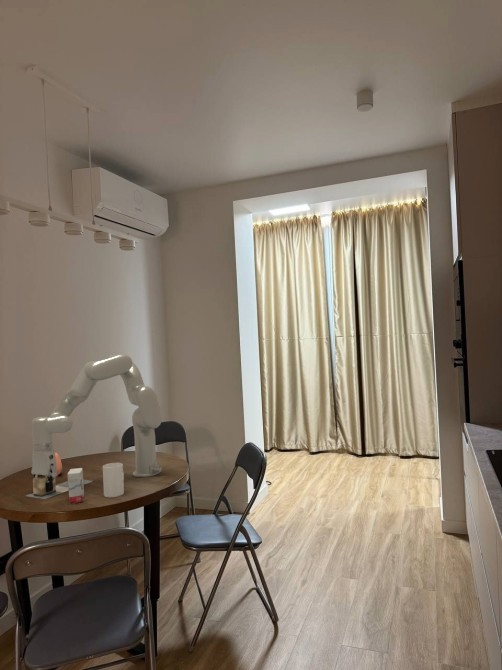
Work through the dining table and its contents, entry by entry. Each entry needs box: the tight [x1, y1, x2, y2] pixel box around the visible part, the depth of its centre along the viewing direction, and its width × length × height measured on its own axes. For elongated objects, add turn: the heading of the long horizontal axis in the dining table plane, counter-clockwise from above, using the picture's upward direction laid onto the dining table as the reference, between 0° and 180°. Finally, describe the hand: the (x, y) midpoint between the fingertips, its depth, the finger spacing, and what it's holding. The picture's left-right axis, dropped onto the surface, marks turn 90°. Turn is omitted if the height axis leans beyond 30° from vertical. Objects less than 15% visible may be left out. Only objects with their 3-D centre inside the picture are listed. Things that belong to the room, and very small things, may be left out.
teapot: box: [39, 452, 63, 478], centre depth 229 cm, size 20×12×12 cm, turn 22°
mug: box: [102, 462, 125, 498], centre depth 198 cm, size 8×12×12 cm
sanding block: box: [32, 475, 57, 497], centre depth 198 cm, size 5×7×7 cm
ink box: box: [67, 467, 85, 505], centre depth 191 cm, size 9×5×12 cm, turn 13°
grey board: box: [25, 479, 94, 500], centre depth 205 cm, size 12×26×1 cm, turn 152°
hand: (44, 490), depth 198 cm, fingers closed on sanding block, 5 cm apart
